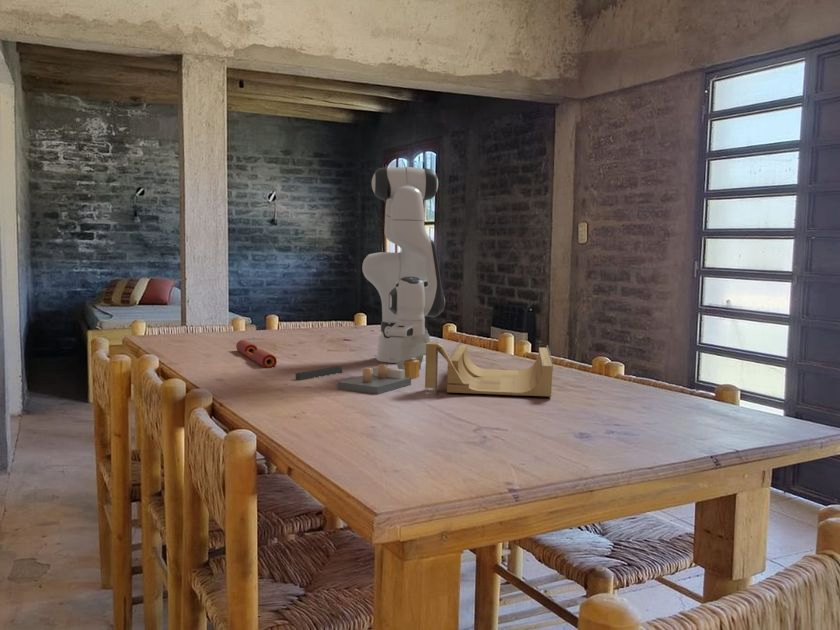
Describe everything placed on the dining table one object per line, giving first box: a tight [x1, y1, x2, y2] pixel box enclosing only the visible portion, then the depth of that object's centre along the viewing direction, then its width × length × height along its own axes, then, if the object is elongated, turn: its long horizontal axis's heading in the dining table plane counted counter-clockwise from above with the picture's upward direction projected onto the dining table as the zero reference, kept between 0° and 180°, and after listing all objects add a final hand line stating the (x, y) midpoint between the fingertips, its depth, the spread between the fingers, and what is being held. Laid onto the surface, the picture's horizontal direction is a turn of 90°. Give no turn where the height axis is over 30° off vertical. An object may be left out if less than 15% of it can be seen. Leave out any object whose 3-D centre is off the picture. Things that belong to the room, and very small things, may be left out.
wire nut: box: [403, 359, 420, 379], centre depth 234 cm, size 6×6×6 cm
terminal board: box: [336, 363, 412, 395], centre depth 217 cm, size 18×14×6 cm
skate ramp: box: [424, 337, 554, 397], centre depth 226 cm, size 40×35×16 cm
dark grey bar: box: [295, 366, 343, 381], centre depth 233 cm, size 19×3×4 cm
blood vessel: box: [236, 339, 278, 369], centre depth 265 cm, size 42×5×5 cm, turn 25°
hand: (409, 371), depth 234 cm, fingers open, 8 cm apart
